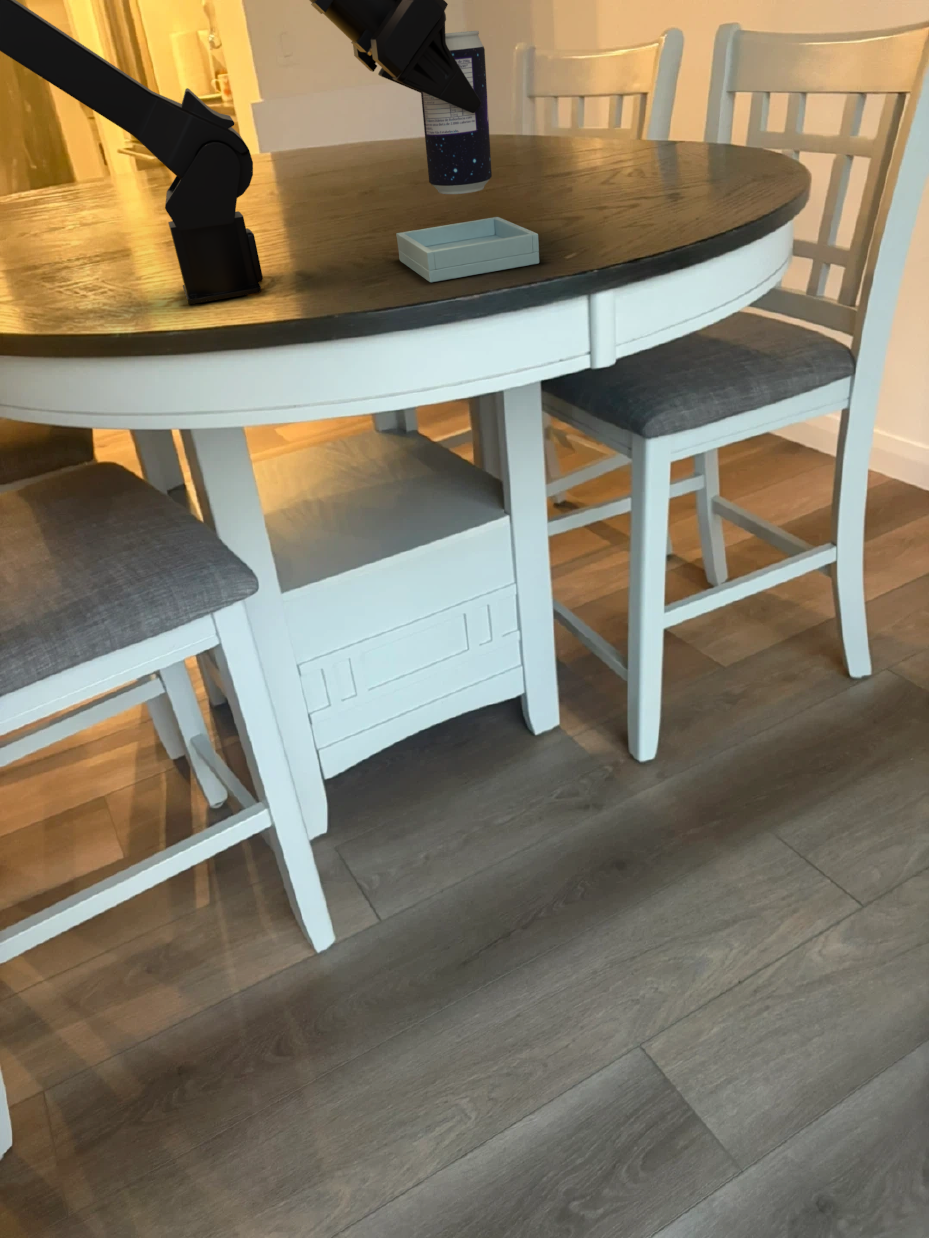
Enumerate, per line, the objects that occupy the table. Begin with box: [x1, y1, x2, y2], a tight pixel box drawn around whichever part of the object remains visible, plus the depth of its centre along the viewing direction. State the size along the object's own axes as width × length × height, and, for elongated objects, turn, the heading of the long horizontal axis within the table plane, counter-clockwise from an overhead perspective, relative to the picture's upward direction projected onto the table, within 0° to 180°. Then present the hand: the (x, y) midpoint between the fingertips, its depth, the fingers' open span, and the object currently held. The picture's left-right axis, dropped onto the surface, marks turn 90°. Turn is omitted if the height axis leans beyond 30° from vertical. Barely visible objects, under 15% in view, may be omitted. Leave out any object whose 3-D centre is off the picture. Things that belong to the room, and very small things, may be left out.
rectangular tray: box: [395, 216, 540, 284], centre depth 83 cm, size 10×10×2 cm
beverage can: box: [420, 30, 493, 195], centre depth 79 cm, size 6×6×12 cm
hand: (470, 106), depth 79 cm, fingers closed on beverage can, 5 cm apart
